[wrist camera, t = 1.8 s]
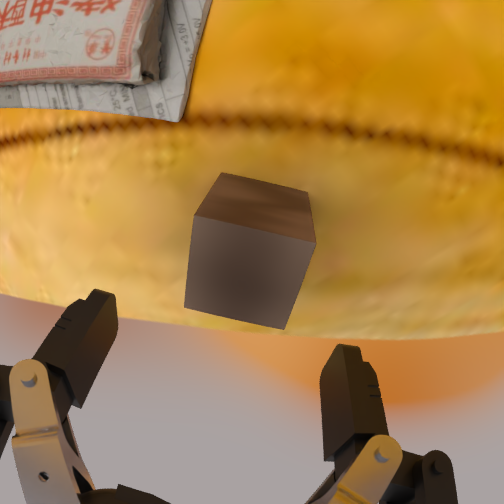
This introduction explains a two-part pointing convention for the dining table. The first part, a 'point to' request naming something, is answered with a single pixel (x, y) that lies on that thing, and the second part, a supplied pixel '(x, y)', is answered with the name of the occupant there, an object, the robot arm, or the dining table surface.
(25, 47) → the packaged product
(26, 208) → the dining table surface
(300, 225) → the walnut block
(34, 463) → the robot arm
